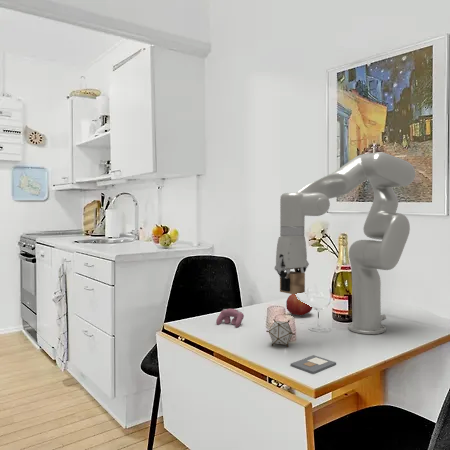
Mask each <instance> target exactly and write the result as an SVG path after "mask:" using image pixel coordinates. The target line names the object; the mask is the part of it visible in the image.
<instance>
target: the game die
mask: <svg viewBox="0 0 450 450" xmlns="http://www.w3.org/2000/svg"><path fill="white" fill-rule="evenodd" d="M272 321H273V323H272V325H271V327H270V328H269V329H268V330H266V333H268V335H269V337H270V339H271V341H272V344H271V346H272V347H273V346H274V345H285V346H286V347H287V348H289V345H288V344H289V342H290V341H291V338H292V337H293V336H296V333H294V332H293V330H292V328H291V325H290V324H289V323H290V321H291V320H290V319H289V320H287V321H282V320H281V321H278V320H276V319H275V318H273V320H272Z"/></svg>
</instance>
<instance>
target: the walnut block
mask: <svg viewBox="0 0 450 450" xmlns="http://www.w3.org/2000/svg"><path fill="white" fill-rule="evenodd" d="M284 272H285V273H286V271H284ZM288 279H290V291H289V292H287V291H282V290H281V278H280V277H279V292H280V293H283V294H284V293H285V294H290V295H291V294H297V293H305V292H306V273H301V272H295V270H293V271H291V270H290V274H289V278H288Z"/></svg>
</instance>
